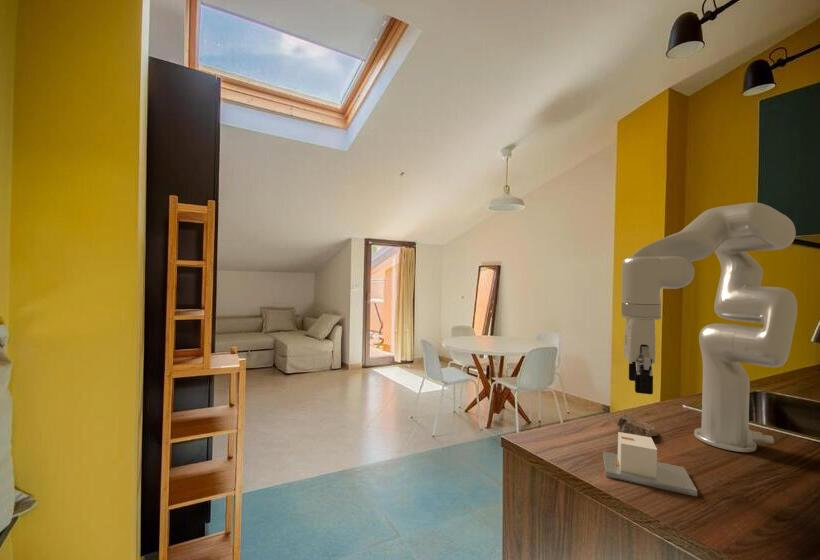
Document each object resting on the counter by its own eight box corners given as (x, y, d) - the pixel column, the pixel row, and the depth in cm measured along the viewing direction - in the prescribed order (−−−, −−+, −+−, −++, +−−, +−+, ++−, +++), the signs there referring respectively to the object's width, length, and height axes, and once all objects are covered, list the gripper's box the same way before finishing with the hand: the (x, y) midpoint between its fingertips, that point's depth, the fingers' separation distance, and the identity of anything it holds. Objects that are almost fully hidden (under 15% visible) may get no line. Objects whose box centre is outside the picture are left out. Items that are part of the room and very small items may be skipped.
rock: (625, 440, 98) (667, 437, 96) (619, 417, 99) (660, 414, 97) (616, 435, 106) (654, 432, 104) (611, 414, 107) (648, 411, 105)
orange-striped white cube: (650, 463, 83) (651, 436, 83) (656, 478, 77) (657, 448, 77) (617, 457, 85) (618, 430, 85) (620, 470, 79) (621, 442, 79)
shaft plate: (683, 472, 81) (684, 453, 81) (697, 496, 72) (697, 475, 72) (603, 456, 88) (603, 439, 88) (606, 476, 79) (606, 457, 79)
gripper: (617, 307, 91) (617, 375, 92) (626, 314, 76) (625, 396, 76) (652, 308, 88) (652, 378, 89) (669, 316, 72) (669, 401, 73)
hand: (640, 386), depth 82 cm, fingers open, 9 cm apart
